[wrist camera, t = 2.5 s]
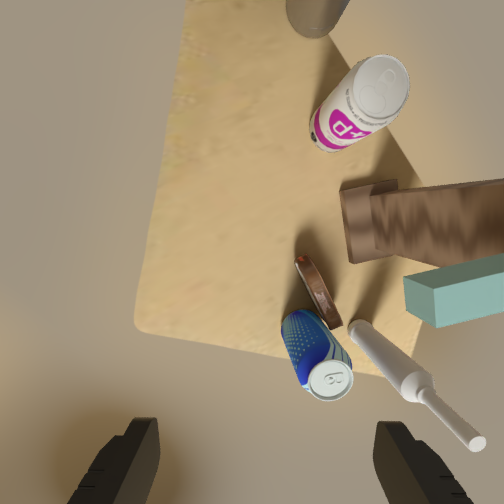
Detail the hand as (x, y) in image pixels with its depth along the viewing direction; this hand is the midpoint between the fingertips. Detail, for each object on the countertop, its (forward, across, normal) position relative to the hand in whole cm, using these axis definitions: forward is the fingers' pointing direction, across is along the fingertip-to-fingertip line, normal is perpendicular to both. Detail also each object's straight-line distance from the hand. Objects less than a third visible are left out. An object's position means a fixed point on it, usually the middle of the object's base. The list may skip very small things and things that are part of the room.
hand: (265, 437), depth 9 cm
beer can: (+38, -9, +17) cm, 43 cm away
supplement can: (+40, -13, -21) cm, 47 cm away
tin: (+39, -11, +8) cm, 41 cm away
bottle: (+39, -22, +18) cm, 48 cm away
